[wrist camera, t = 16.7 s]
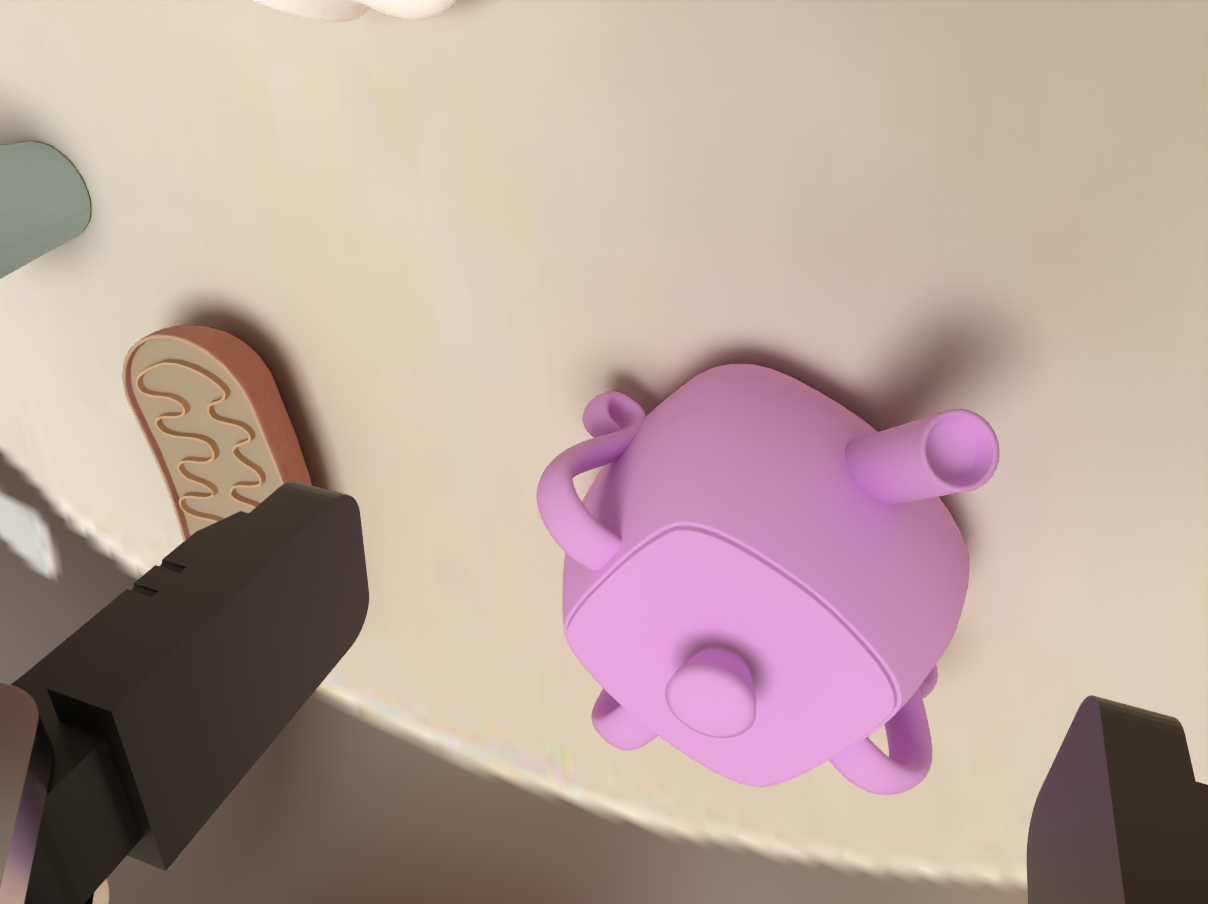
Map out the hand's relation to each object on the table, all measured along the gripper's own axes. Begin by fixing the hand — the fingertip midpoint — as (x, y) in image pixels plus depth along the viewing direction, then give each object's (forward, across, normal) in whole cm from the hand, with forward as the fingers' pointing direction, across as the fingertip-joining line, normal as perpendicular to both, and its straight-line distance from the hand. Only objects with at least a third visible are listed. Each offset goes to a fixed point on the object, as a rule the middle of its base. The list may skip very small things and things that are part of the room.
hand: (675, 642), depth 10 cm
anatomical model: (+34, +33, +27) cm, 55 cm away
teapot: (+33, +1, +20) cm, 39 cm away
